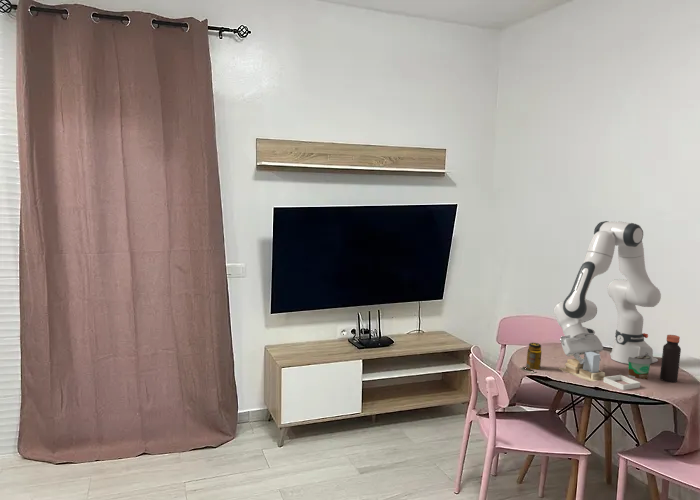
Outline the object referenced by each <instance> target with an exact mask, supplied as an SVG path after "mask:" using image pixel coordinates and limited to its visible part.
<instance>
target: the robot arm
mask: <svg viewBox="0 0 700 500" xmlns="http://www.w3.org/2000/svg"><path fill="white" fill-rule="evenodd" d="M643 238H644V230H643V229H642V227H641V225H639V224H637V223H633V222H631V223H630V222H627V221H609V220H608V221H607V220H605V221H604V220H603V221H600V222H599V223H597V225H596V226H595V227H594V231H593V236H592V238H591V240H590V242H589V245H588V248H587V251H586V255H585V257H584V260H583V262H582V264H581V266H580V267H579V270H578V273H577V274H576V277H575V280H574V282H573V285H572V287H571V288H572V289H571V290H570V292H569V294H568V295H567V296H566V298H565V299H564V300H562V301H560V302H558V303H557V304H555V306H554V308H553V315H554V318H555V319H556V321H557V324H558V326H559V327H560V328H561V329H562V333H563V335H561V336H560V338H559V341H560V343H561V347H562V351H563V352H564V355H566V356H567V357H573V358H574V359H577V360H578V361H579V362H580V364H584V363H585V361H584V359H582V358H583V357H581V355H583V356H584V354H585V352H591V351H592V352H594V353H597V354H600V352H602V351H603V350H604V346H603V343H602V341H601V340H600V338H599V337H598V336H597V335H596V331H595V330H594V329H592V328H589V327H585V326H583V323H586V322H588V321H591V320H593V319H594V318H596V317H597V316H596V315H597V313H598V307H597V305H596V304H595V303H594V302H593V301H591V300H589V299H588V298H587V299H586V297H587V293H588V291H589V288H590V285H591V283H592V280H593V279H594V278H595V277H597V276H600V275H602V274H605V273H606V272H607V271H608V270H609V268H610V267H611V264H612V260H613V257H614V253H615V249H616V246H617V247H618V248H617V256H618V257H617V258H618V270H619V271H620V273H621V274H622V275H623V276H624V277H625V278H626V279H624V278H622V279H620V278H619V279H612V280H611V281H610V283H609V284H608V286H607V294H608V296H609V297H610V298H611V299H612V301H613V303H614V304H615V307H616V308H615V309H616V312H617V324H616V330H615V339H614V341H613V344H612V349H611V352H610V353H609V355H610V358H611V360H613V361H615V362H618V363H620V364H621V363H622V364H626V365H629V362H628V358H629V357H632V358H635V357H637V356H640V357H642V356H645V354H647V355H649V356H651V358H652V363H651V364H653V363H657V362H658V361H659V359H658V358H656V357H654V355H653V354H654V350H653V347H651V346H650V345H649V344H648V343H647V342H646V341H645V339H648V337H649V333H645V332H644V333H643V328H644V317H643V315H642V314H641V312H639V310H638V309H637V307H636V306H638V307H643V308H655V307H656V306H657V305H658V304H659V303H660V301H661V299H662V298H661V297H662V293H661V291H660V288H658V287H657V286H656V285H654V284H655V283H653V282H652V280H651V279H650V276H649V275H648V273H647V269H646V264H645V263H646V262H645V250H644V249H645V248H644V243H643ZM601 361H602V358H600V362H601Z"/></svg>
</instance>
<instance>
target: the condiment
mask: <svg viewBox="0 0 700 500" xmlns="http://www.w3.org/2000/svg"><path fill="white" fill-rule="evenodd" d="M526 354H527V355H526V365H525V366H522V367H519V369H520V370H521V371H524V372H528V373H530V374H535V373H536V372H534V371H536V370H540V369H541V363H542V344H541V343H538V342H530V343H529V344H528V348H527V353H526ZM526 367H527V368H526ZM525 368H526V369H525ZM531 371H533V372H531Z"/></svg>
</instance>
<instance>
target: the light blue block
mask: <svg viewBox="0 0 700 500" xmlns="http://www.w3.org/2000/svg"><path fill="white" fill-rule="evenodd" d="M583 356H584V357H583V358H584V361H585V363H584V364H583V369H584V370H587V371H589V372H591V373H598V372H599V370H600V362H601V361H600V359H601V354H600V353H599V354H597V353H594V352H592V351H591V352H585V354H583Z"/></svg>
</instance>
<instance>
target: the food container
mask: <svg viewBox="0 0 700 500" xmlns="http://www.w3.org/2000/svg"><path fill="white" fill-rule="evenodd" d="M628 362H629V364H627V365H628V366H627V368H628V369H627V373H628V374H627V375H628V376H627V377H628V378H632V379H633V378H634V379H640V380H642V379H644V380H646V381H647V380H648V378H649V372H650V367H651V364H653V363H652V358H651V356H649V355H647V354H645V356H642V357H640V356H637V357H635V358H632V357H629V358H628Z"/></svg>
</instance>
